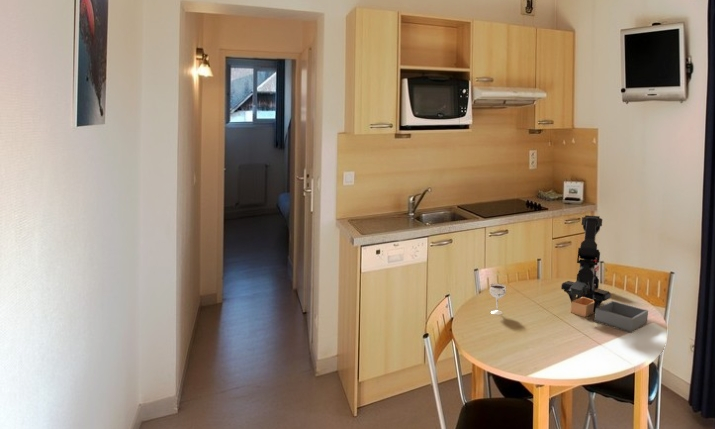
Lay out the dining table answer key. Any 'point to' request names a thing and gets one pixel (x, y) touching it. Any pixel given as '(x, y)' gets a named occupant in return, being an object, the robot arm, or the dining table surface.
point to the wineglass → (497, 295)
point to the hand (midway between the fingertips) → (583, 309)
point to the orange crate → (582, 306)
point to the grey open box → (621, 316)
